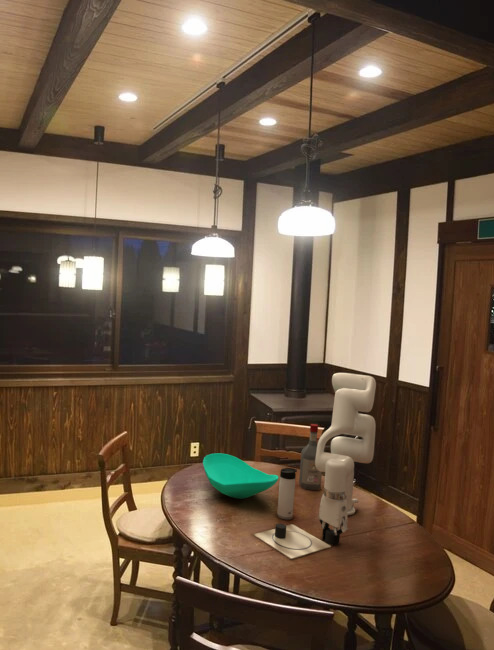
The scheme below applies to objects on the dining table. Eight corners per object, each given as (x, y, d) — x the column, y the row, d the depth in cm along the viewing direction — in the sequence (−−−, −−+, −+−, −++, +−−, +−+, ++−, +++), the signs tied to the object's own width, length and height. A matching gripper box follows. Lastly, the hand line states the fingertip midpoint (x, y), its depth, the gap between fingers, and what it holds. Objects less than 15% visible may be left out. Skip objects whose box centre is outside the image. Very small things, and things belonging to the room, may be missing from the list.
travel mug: (293, 520, 216) (297, 472, 215) (276, 518, 218) (280, 470, 216) (293, 514, 222) (296, 467, 221) (277, 512, 224) (280, 465, 223)
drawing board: (292, 524, 213) (292, 523, 213) (331, 547, 196) (331, 545, 196) (253, 535, 202) (253, 533, 202) (291, 559, 185) (291, 558, 185)
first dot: (280, 533, 204) (281, 522, 203) (287, 537, 200) (288, 527, 200) (272, 535, 202) (273, 524, 201) (279, 539, 198) (280, 529, 198)
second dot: (330, 538, 203) (330, 528, 202) (338, 543, 199) (339, 532, 199) (322, 540, 201) (323, 530, 200) (331, 545, 197) (331, 534, 197)
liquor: (321, 490, 251) (326, 428, 249) (302, 489, 251) (306, 426, 249) (316, 483, 260) (321, 423, 258) (298, 482, 260) (302, 421, 259)
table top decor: (292, 505, 232) (294, 475, 231) (245, 518, 216) (247, 486, 215) (231, 476, 264) (233, 449, 263) (186, 485, 248) (188, 457, 247)
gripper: (359, 500, 194) (355, 549, 195) (324, 484, 208) (320, 530, 209) (345, 503, 190) (341, 554, 191) (310, 487, 204) (306, 534, 205)
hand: (330, 541), depth 200 cm, fingers closed on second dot, 4 cm apart
